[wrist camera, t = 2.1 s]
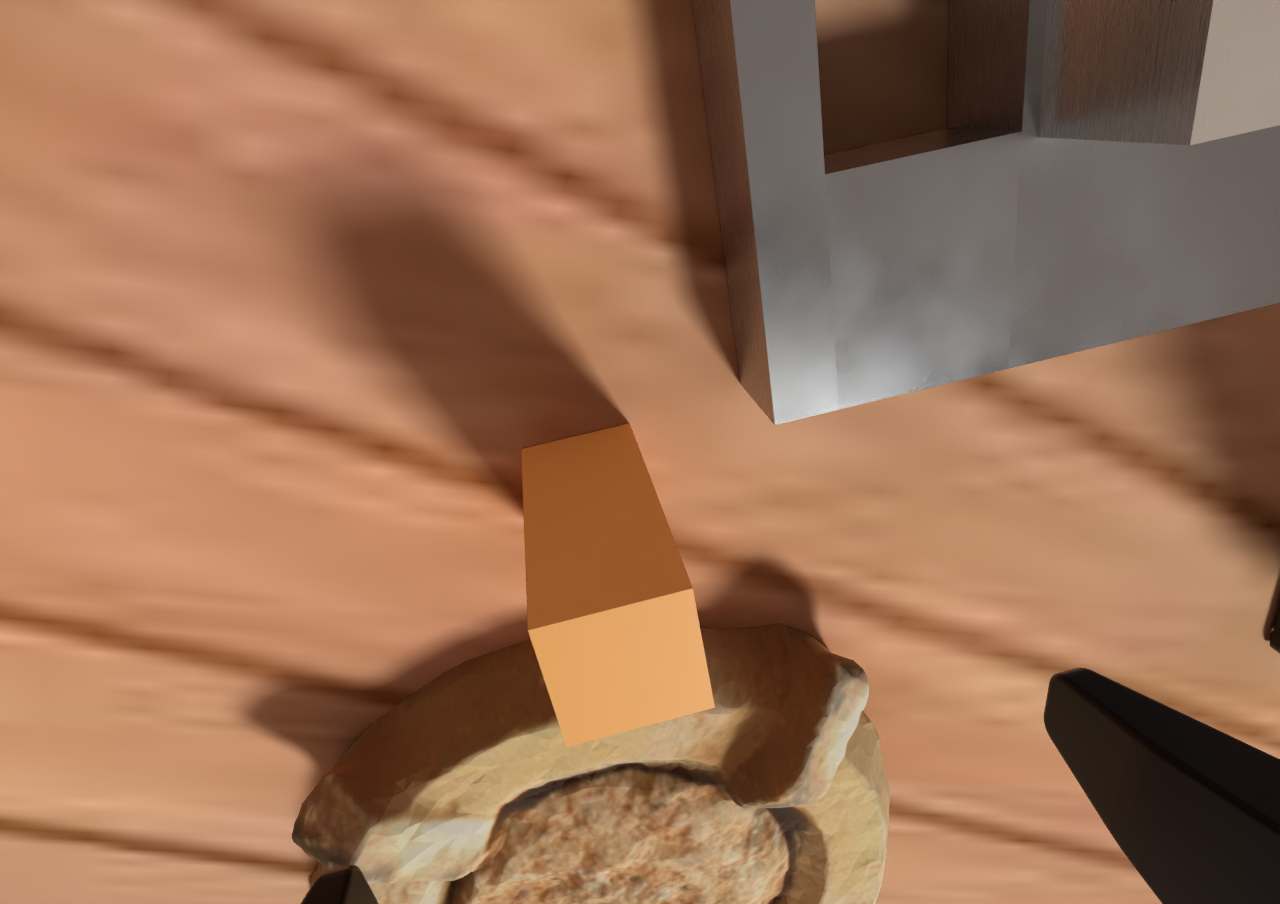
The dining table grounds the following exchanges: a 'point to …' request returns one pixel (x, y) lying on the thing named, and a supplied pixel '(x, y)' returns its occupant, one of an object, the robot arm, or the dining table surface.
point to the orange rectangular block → (607, 590)
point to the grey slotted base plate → (993, 193)
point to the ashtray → (617, 790)
